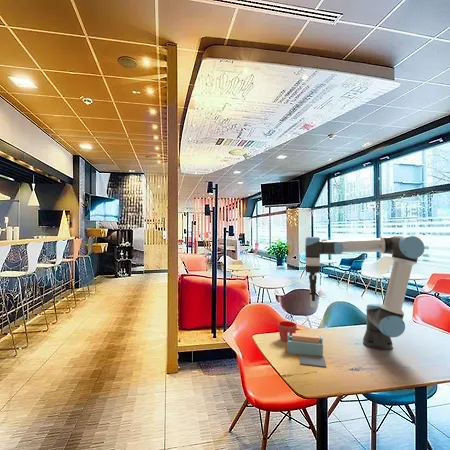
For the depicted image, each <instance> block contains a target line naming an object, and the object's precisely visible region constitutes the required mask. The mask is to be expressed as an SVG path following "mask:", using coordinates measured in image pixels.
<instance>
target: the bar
mask: <svg viewBox="0 0 450 450" xmlns="http://www.w3.org/2000/svg"><path fill="white" fill-rule="evenodd" d="M319 339H320V335H315V334H307V333H306V334H305V333H292V340H293V341H303V342H313V343H319Z"/></svg>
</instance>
